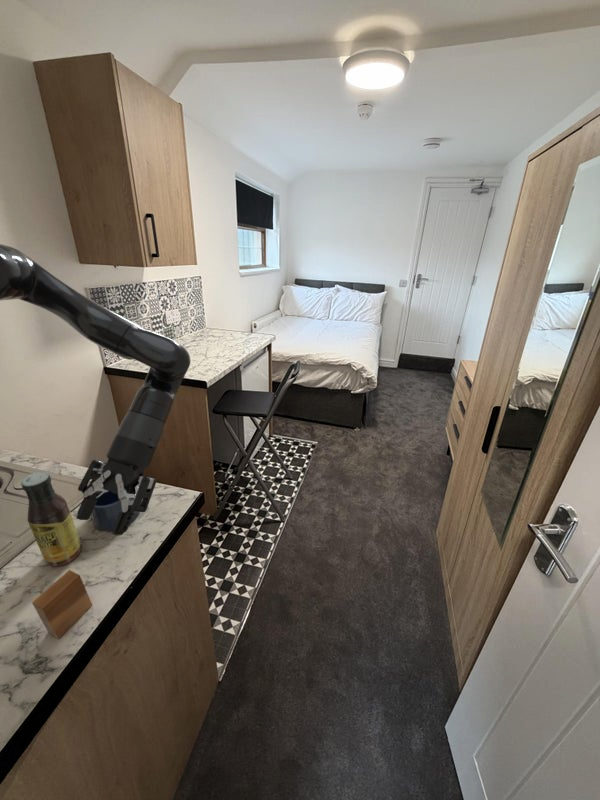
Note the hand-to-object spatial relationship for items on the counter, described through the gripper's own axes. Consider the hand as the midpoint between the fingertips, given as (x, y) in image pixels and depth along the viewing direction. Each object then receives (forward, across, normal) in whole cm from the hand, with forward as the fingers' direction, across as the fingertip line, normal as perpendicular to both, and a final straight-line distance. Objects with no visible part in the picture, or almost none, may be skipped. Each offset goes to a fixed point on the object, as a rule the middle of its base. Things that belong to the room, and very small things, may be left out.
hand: (99, 526), depth 57 cm
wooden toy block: (+15, 0, +2) cm, 15 cm away
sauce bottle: (+10, -13, +8) cm, 18 cm away
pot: (+1, -12, +17) cm, 21 cm away
